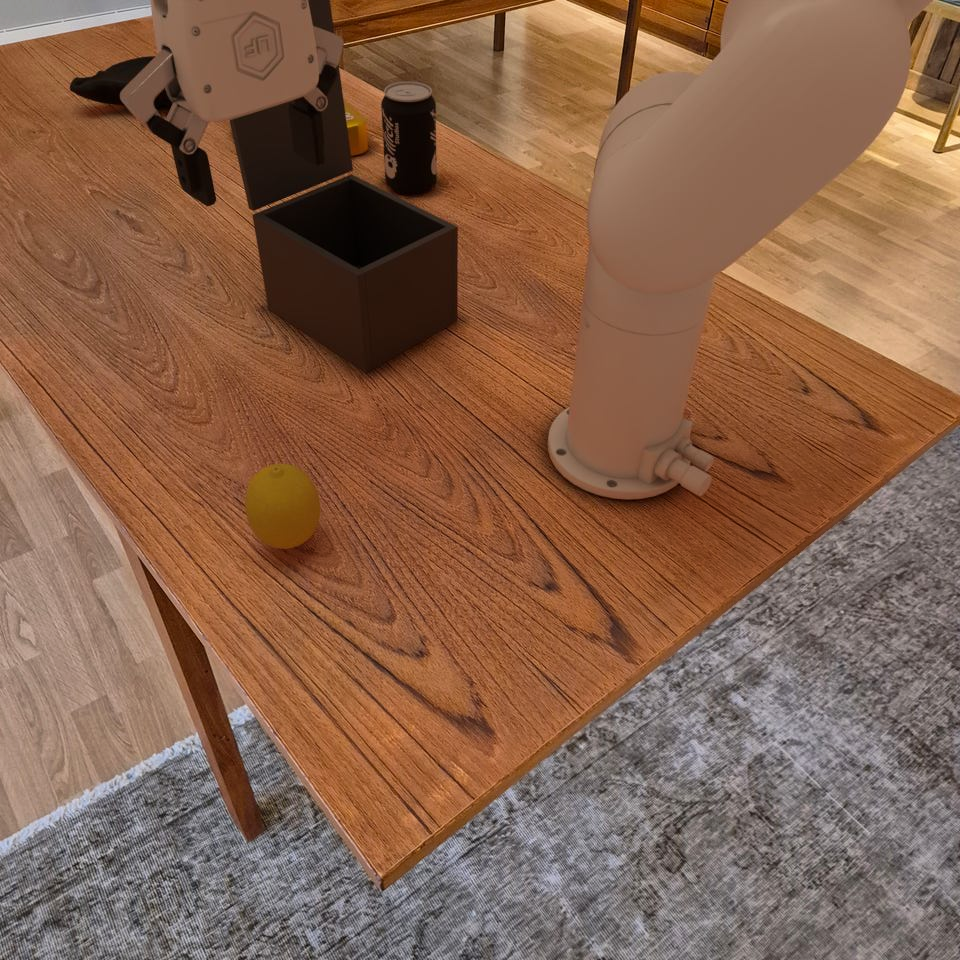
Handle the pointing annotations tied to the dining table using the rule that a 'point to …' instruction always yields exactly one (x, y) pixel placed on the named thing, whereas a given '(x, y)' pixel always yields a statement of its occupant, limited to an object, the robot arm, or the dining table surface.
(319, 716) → the dining table surface
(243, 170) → the lid
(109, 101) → the oil lamp
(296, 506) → the lemon
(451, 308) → the dark open storage box
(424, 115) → the beverage can
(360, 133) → the element tile
